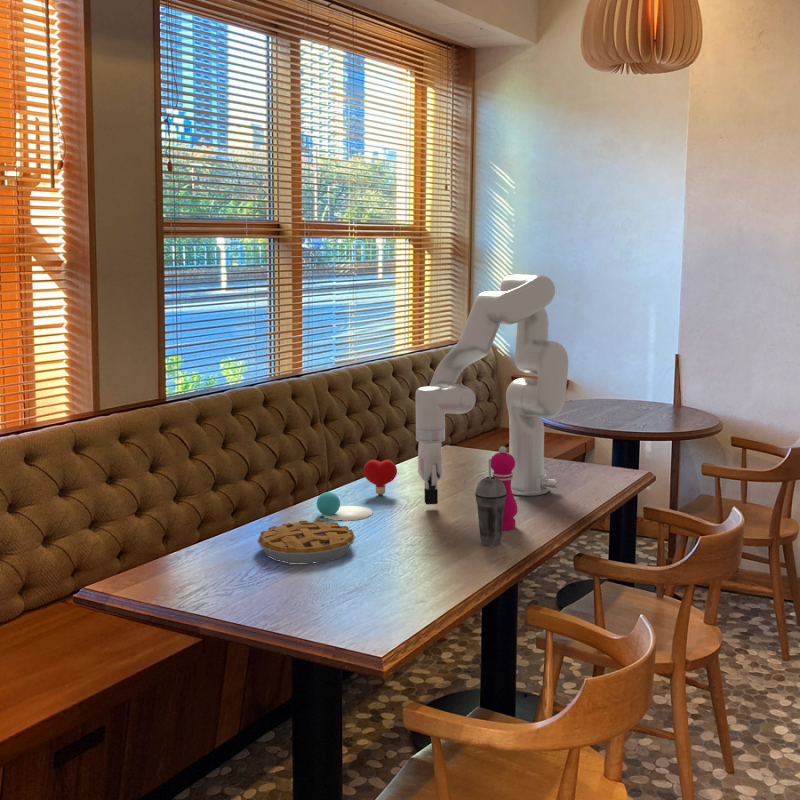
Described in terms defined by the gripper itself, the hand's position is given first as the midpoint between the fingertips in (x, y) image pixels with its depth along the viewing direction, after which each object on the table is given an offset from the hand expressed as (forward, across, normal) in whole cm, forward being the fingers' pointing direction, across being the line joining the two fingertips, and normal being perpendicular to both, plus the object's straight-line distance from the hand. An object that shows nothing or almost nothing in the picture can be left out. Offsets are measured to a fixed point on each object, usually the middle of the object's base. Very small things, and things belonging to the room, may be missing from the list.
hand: (431, 503), depth 242 cm
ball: (-2, 0, -27) cm, 27 cm away
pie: (+2, +28, -34) cm, 44 cm away
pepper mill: (+2, +19, +14) cm, 24 cm away
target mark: (+2, 0, -22) cm, 22 cm away
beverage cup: (+2, +31, +8) cm, 32 cm away
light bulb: (+2, -16, -11) cm, 20 cm away
